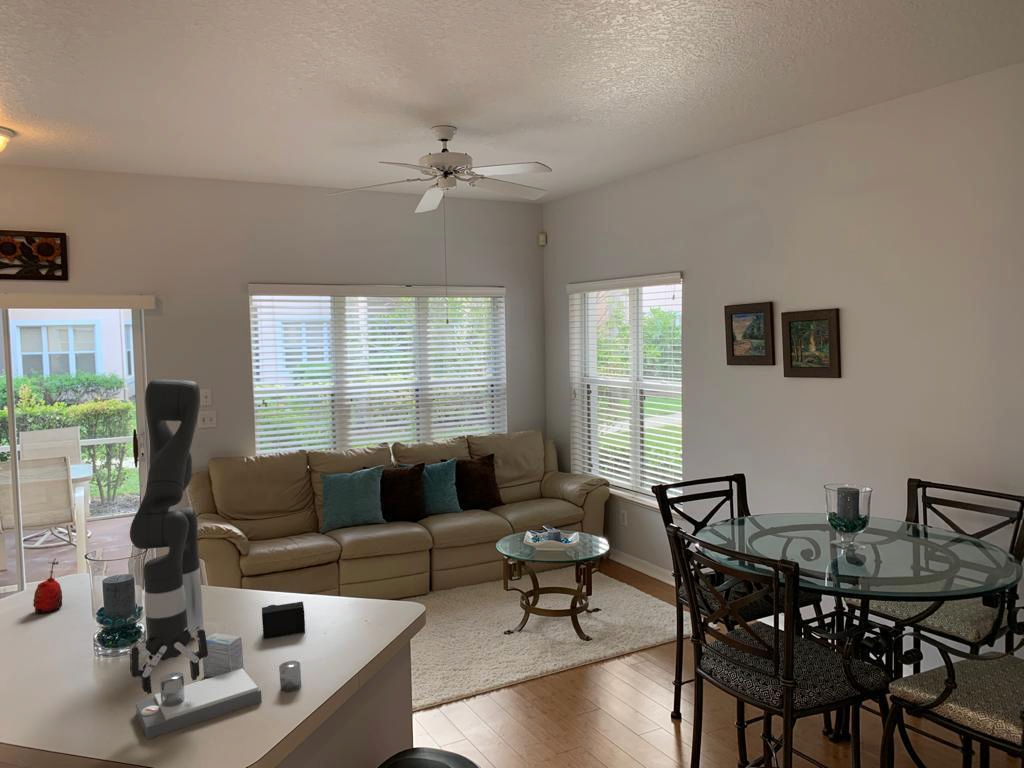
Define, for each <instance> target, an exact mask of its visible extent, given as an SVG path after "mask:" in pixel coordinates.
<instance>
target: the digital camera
mask: <svg viewBox="0 0 1024 768" xmlns="http://www.w3.org/2000/svg"><path fill="white" fill-rule="evenodd" d="M305 618H306V617H305V606H304V601H297V602H291V603H289V602H288V603H283V604H278V605H276V604H269V605H268V606H263V607H261V621H262V635H263V636H262V637H263V640H268V639H274V638H281V637H286V636H293V635H298V634H305V633H306V619H305Z"/></svg>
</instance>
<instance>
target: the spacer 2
mask: <svg viewBox="0 0 1024 768" xmlns="http://www.w3.org/2000/svg"><path fill="white" fill-rule="evenodd" d="M278 671H279V684H280V685H279V686H280V691H281V692H283V693H293V692H296V691H299V690H300V689H301V688H302V673H301V663H300V661H298V660H288V661H284V662H283V663H281V664H280V665H279V666H278Z"/></svg>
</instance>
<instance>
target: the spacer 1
mask: <svg viewBox="0 0 1024 768" xmlns="http://www.w3.org/2000/svg"><path fill="white" fill-rule="evenodd" d="M184 680H185V677H184V674H183V673H182V672H171V673H168V674H165V675H163V676H162V677H161V676H160V679H159V687H160V689H159V690H160V693H161V704H162V706H165V707H171V706H175V705H178V704H180V703H182V702H183V701H184V700H185V691H184V686H185V681H184Z"/></svg>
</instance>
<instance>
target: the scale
mask: <svg viewBox="0 0 1024 768" xmlns="http://www.w3.org/2000/svg"><path fill="white" fill-rule="evenodd" d="M184 691H185V700H184V701H183V702H182V703H180V704H178V705H175V706H171V707H165V706H162V704H161V692H159V693H155V694H154V696H153V697H150V698H146V699H143V700H140V701H136V702H135V708H136V710H135V711H136V716H137V718H138V720H139V722H140V724H141V727H142V730H143V731H144V734H145V736H146V739H147V740H150V739H152V738H155V737H156V738H157V737H158V736H161V735H164V734H168V733H170V732H174V731H176V730H179V729H182V728H186V727H188V726H191V725H195V724H198V723H200V722H203V721H206V720H210V719H212V718H213V719H214V718H216V717H218V716H221V715H225V714H228V713H230V712H231V713H232V712H234V711H237V710H239V709H242V708H246V707H249V706H252V705H255V704H258V703H262V702H263V699H262V698H263V697H262V690H261V689H260V687H259V686H258V685H257V684H256V682H255V681H254V680H253V679H252V677H251V676H250V675H249V674H248V672H247V671H246V670H245V668H244V669H243V668H242V669H239V670H235V671H232V672H229V673H225V674H222V675H219V676H215V677H209V678H205V679H202V680H199V681H196V682H192V683H189V684H186V685H185V684H184Z"/></svg>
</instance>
